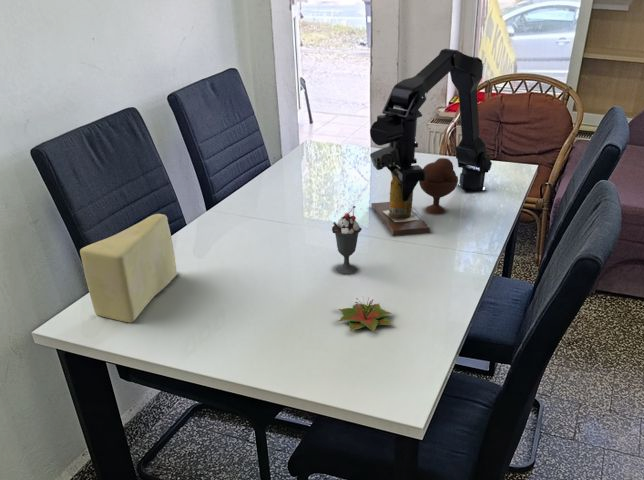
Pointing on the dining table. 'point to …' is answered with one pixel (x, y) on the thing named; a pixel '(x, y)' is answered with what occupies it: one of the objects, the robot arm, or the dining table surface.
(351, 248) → the sundae
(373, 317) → the lily flower
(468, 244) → the dining table surface
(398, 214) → the condiment
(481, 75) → the robot arm
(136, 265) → the cheese
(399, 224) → the walnut board
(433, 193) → the ice cream bowl
